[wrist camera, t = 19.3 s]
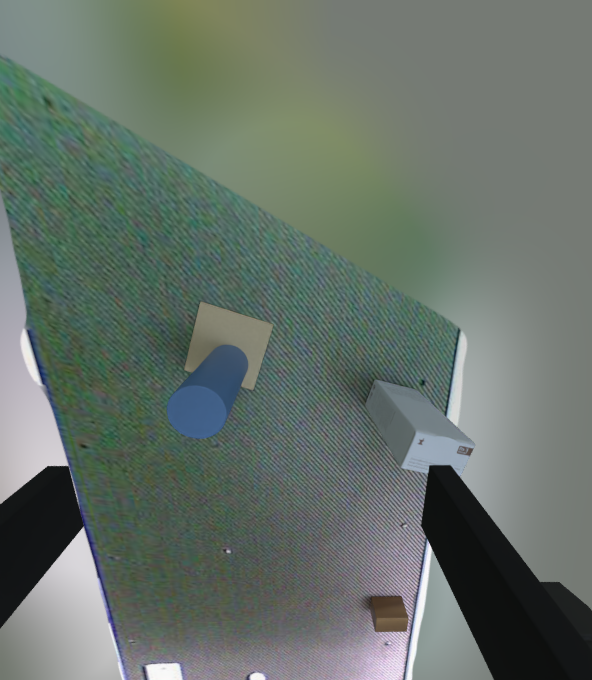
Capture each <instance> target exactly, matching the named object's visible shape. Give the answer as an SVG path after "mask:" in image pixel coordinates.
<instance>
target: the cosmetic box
mask: <svg viewBox="0 0 592 680" xmlns="http://www.w3.org/2000/svg"><path fill="white" fill-rule="evenodd" d="M365 407H366V409H367V411H368V412H369V414H370V416H371V418H372V419H373V421H374V423H375V424H376V426H377V428H378V430H379V431H380V433H381V435H382V437H383V438H384V440H385V442H386V444H387V445H388V447H389V449H390V451H391V452H392V454H393V456H394V457H395V459H396V461H397V463H398V465H399V466H400V468H403V469H408V470H413V471H417V472H422V473H427V474H428V471H429V465H451V466H452V468H453V469H454V470H455V471H456V473H457V474H458V475H459V477H460V476H461V474H462V472H463V470H464V468H465V466H466V464H467V461H468V459H469V457H470V455H471V453H472V451H473V449H474V447H475V443H474V442H473V441H472V440H471V439H470V438H468V437H467V436H466V435H465V434H464V433H463V432H462V431H461V430H460V429H459V428H458V427H456V426H455V425H454V424H453V423H452V422H451V421H450V420H449V419H448V418H447V417H446V416H444V415H443V414H442V413H441V412H440V411H439V410H438V409H437V408H436V407H435V406H434V405H432V404H431V403H430V402H429V401H428V400H427V399H426V398H425V397H424V396H423V395H422V394H420V393H419V392H418V391H417V390H416V389H412V388H408V387H404V386H400V385H396V384H392V383H388V382H384V381H380V380H374V383H373V385H372V388H371V390H370V393H369V396H368V398H367V401H366V404H365Z"/></svg>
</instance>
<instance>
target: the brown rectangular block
mask: <svg viewBox="0 0 592 680" xmlns="http://www.w3.org/2000/svg"><path fill="white" fill-rule="evenodd" d="M370 611H371V616H372V620H373V625H374V629H375V632H406V631H407V625H408V615H407V612H406V609H405V606H404V603H403V600H402V597H371V607H370Z"/></svg>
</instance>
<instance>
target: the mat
mask: <svg viewBox="0 0 592 680" xmlns="http://www.w3.org/2000/svg"><path fill="white" fill-rule="evenodd" d="M273 326H274V324H271V323H268V322H265V321H261V320H258V319H255V318H252V317H249V316H246V315H242V314H239V313H236V312H233V311H230V310H227V309H223V308H220V307H217V306H214V305H211V304H208V303H205V302H200V306H199V310H198V314H197V318H196V322H195V327H194V331H193V335H192V339H191V343H190V347H189V352H188V356H187V360H186V364H185V368H184V370H186V371H189V372H194V370H195V369H196V368H197V367H198V366H199V365H200V364H201V363H202V362H203V361H204V360H205V359H206V357H207V356H208V355H209V354H210V353H211V352H212V351H213V350H214V349H215V348H217V347H219V346H221V345H233V346H236V347H238V348H239V349H241V350H242V351H243V352H244V353H245V355H246V357H247V359H248V370H247V373H246V375H245V377H244V380H243V382H242V384H241V387H244V388H247V389H251V390H253V389H254V386H255V383H256V380H257V377H258V373H259V370H260V367H261V364H262V361H263V357H264V354H265V351H266V348H267V345H268V342H269V338H270V335H271V332H272V329H273Z"/></svg>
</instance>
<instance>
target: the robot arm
mask: <svg viewBox="0 0 592 680" xmlns="http://www.w3.org/2000/svg"><path fill="white" fill-rule="evenodd" d="M421 526H422V529H423V531H424V533H425V535H426V537H427V539H428V541H429V543H430V545H431V548H432V550H433V552H434V554H435V556H436V558H437V560H438V562H439V564H440V567H441V569H442V571H443V573H444V575H445V577H446V579H447V581H448V583H449V585H450V588H451V590H452V592H453V594H454V596H455V598H456V600H457V602H458V605H459V607H460V609H461V611H462V613H463V615H464V617H465V619H466V622H467V624H468V626H469V628H470V630H471V632H472V634H473V636H474V638H475V640H476V643H477V644H478V647H479V649H480V651H481V653H482V655H483V657H484V660H485V662H486V664H487V666H488V668H489V670H490V672H491V674H492V676H493V678H494V680H592V611H591V609H590V608H589V607H588V606H587V605H586V604H584V603H583V602H582V601H581V600H580V599H579V598H577V597H576V596H575V595H574V594H573V593H571V592H570V591H569V590H568V589H567V588H566V587H564V586H563V585H562V584H561V583H560V582H539V580H538V579H537V578H536V576H535V575H534V574H533V572H532V571H531V570H530V568H529V567H528V566H527V565H526V563H525V562H524V561H523V559H522V558H521V557H520V555H519V554H518V553H517V551H516V550H515V549H514V547H513V546H512V545H511V544H510V542H509V541H508V540H507V538H506V537H505V536H504V534H503V533H502V532H501V531H500V529H499V528H498V527H497V525H496V524H495V523H494V521H493V520H492V519H491V517H490V516H489V515H488V513H487V512H486V511H485V510H484V508H483V507H482V506H481V504H480V503H479V502H478V500H477V499H476V498H475V496H474V495H473V494H472V493H471V491H470V490H469V489H468V487H467V486H466V485H465V483H464V482H463V481H462V479H461V478H460V477H459V475H458V474H457V473H456V471H455V470H454V469H453V468H452V466H451V465H429V471H428V479H427V486H426V494H425V501H424V508H423V516H422V523H421ZM83 527H84V525H83V521H82V517H81V513H80V510H79V506H78V502H77V498H76V494H75V490H74V486H73V482H72V478H71V474H70V470H69V466H47V467H46V468H45V469H44V470H43V471H41V472H40V473H39V474H37V475H36V476H35V477H34V478H32V479H31V480H30V481H29V482H27V483H26V484H25V485H24V486H22V487H21V488H20V489H19V490H18V491H16V492H15V493H14V494H13V495H11V496H10V497H9V498H8V499H6V500H5V501H4V502H3V503H2V504H0V628H1V627H2V626H3V624H4V623H5V622H6V621H7V620H8V618H9V617H10V616H11V615H12V613H13V612H14V611H15V610H16V609H17V607H18V606H19V605H20V604H21V602H22V601H23V600H24V599H25V598H26V596H27V595H28V594H29V593H30V591H31V590H32V589H33V588H34V587H35V585H36V584H37V583H38V582H39V580H40V579H41V578H42V577H43V576H44V574H45V573H46V572H47V571H48V569H49V568H50V567H51V565H52V564H53V563H54V562H55V561H56V559H57V558H58V557H59V556H60V555H61V553H62V552H63V551H64V550H65V549H66V547H67V546H68V545H69V544H70V542H71V541H72V540H73V539H74V538H75V536H76V535H77V534H78V533H79V531H80V530H81V529H82V528H83Z"/></svg>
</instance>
